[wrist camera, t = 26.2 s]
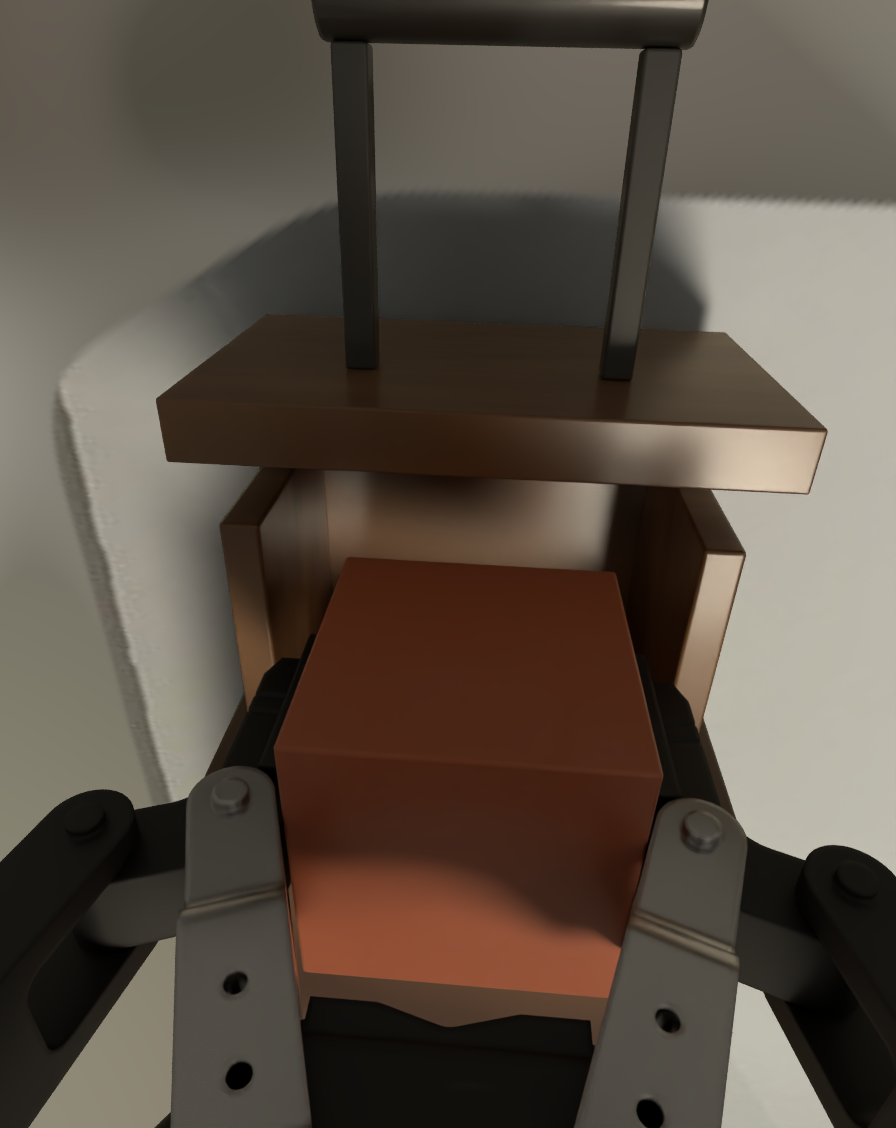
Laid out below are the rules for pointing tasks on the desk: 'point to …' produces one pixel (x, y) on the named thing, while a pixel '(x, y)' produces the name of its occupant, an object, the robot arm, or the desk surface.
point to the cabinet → (445, 999)
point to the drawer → (493, 395)
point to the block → (468, 777)
